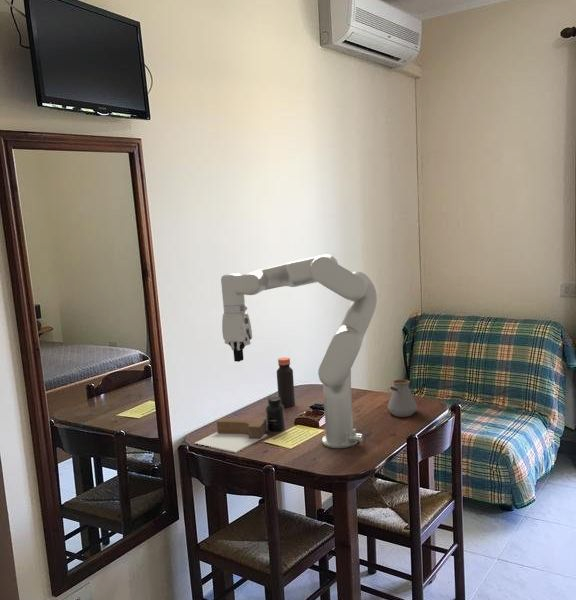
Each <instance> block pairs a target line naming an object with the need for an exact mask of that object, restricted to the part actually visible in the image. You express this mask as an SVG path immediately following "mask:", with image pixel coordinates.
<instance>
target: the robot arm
mask: <svg viewBox="0 0 576 600" xmlns="http://www.w3.org/2000/svg"><path fill="white" fill-rule="evenodd" d="M220 282H221V283H220V284H221V294H222V305H223V306H222V307H223V313H222V320H221V325H222V327H221V328H222V329H221V330H222V331H221V332H222V338H223V340H224V344H226V345H228V346H229V347H231V351H232V352H233V359H234V362H238V363H239V362H242V361H244V349H245V347H246V346H250V345H251V340H252V339H253V331H252V325H251V319H250V316H249V313H248V312H246V311H248V307H247V306H246V305H245V304H246V303H245V302H246V301H245V296H255V295H257V294H259V293H261V292H263V291H267V290H271V289H275V288H276V289H277V288H282V287H290V288H296V287H301V286H305V285H310V284H311V285H312V284H314V283H318V284H320V285H322V286H323V287H325V288H326V289H328V290H330V291H331V292H334V293H335V294H337V295H338V296H340V297H341V298H344V299H346V300H348V301H350V304H349V306H348V309H347V311H346V313H345V315H344V318H343V320H342V322H341V324H340V326H339V328H338V329H337V330H336V332H335V333H334V335H333V336H332V338H331V340H330V343H329V344H328V347H327V349H326V351H325V354H324V356H323V358H322V361H321V363H320V364H319V367H318V370H317V371H318V373H317V375H318V378H319V381H320V382H321V383H322V385H323V386H322V387H323V407H324V409H323V410H324V422H325V423H324V425H325V426H324V427H325V435H324V436H323V437H322V438H321V444H323V445H324V446H325V447H327V448H332V449H345V448H351V447H353V446H356V444H358V443H362V442H363V440H364V436H363V434H362V433H357V429H356V428H354V425H353V424H354V423H353V422H354V421H353V419H354V418H353V402H352V396H353V395H352V368H353V365H354V363H355V361H356V359H357V356H358V355H359V353H360V350H361V347H362V345H363V341H364V337H365V335H366V332H367V330H368V328H369V326H370V323H371V321H372V319H373V317H374V314H375V312H376V307H377V300H378V299H377V298H378V295H377V290H376V288H375V287H376V286H375V285H374V283H373V281H372V280H371V278H369V276H368V275H367V274H366V273H364V272H362V271H351V270H348V269H346V267H344V266H342V265H340V264H339V262H338V260H337V259H336V258H335V257H334V256H333V255H330V254H321V255H317V256H314V257H309V258H304V259H299V260H295V261H294V260H293V261H289V262H287V263H284V264H281V265H276V266H275V265H274V266H272V267H267V268H262V269H258V270H254V271H252V272H249V273H245V274H241V273H227V274H223V275H222V276H221V278H220ZM323 445H322V446H323Z"/></svg>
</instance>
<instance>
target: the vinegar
mask: <svg viewBox="0 0 576 600" xmlns="http://www.w3.org/2000/svg"><path fill="white" fill-rule="evenodd" d="M290 358H291V357H280V358H278V359H277V363H278V366H279V367H278V368H277V370H276V380H277V384H276V385H277V397H280V398H281V404H282V405H283V406H284V408H291V407H294V406H295V405H296V400H295V399H296V398H295V386H294V385H295V384H294V383H295V382H294V370H293V368H292V367H290V366H291V359H290Z"/></svg>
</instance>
